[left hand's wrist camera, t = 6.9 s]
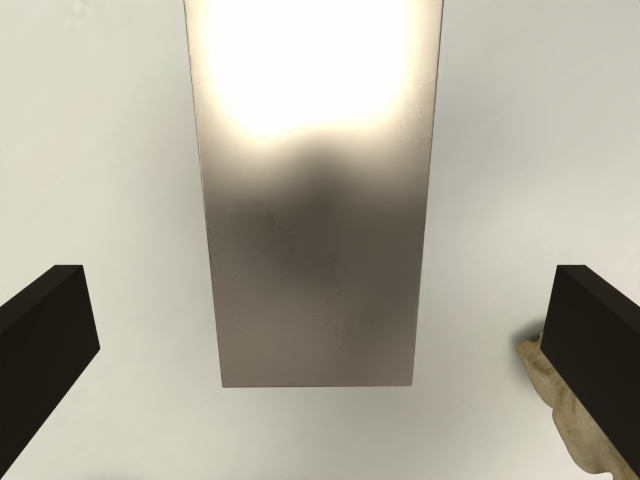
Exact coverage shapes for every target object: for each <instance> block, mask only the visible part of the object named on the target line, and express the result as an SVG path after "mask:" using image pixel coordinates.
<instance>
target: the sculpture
mask: <svg viewBox="0 0 640 480" xmlns="http://www.w3.org/2000/svg"><path fill="white" fill-rule="evenodd" d="M543 331H544V330H543ZM543 331H541V332H540V334H539V335H540V338H539V340H538V341H537V342H531V341H529V340H526V341H524V342H523V343H521V344H520V345H519V346H517V351H518V353H519V355H520V357H521V358H522V360H523V362H524V364H525V367H526V369H527V373H528V375H529V378H530V380H531V382H532V384H533V386H534V388H535V390H536V391H537V393H538V394H539V396H540V397H541V399H542V400H543V401H544V402H545V403H546V404H547V405H548V406H550V407H551V408H553V412H552V417H553V421H554V423H555V425H556V428H557V430H558V432H559V434H560V436H561V438H562V440H563V441H564V443H565V445H566V448H567V450H568V452H569V454H570V455H571V457H572V459H573V460H574V462H575V463H576V464H577V465H578V466H579V467H580V468H581V469H582V470H584V471H585V472H587V473H590V474H599V473H604V472H610V473H612V475H613V480H639V478H638V477H637V476H636V474H635V473H634V472H633V470H632V469H631V468H630V466H629V465H628V464H627V463H626V461H625V460H624V459H623V457H622V456H621V455H620V453H619V452H618V451H617V449H616V448H615V447H614V446H613V444H612V443H611V442H610V440H609V439H608V438H607V436H606V435H605V434H604V432H603V431H602V430H601V429H600V427H599V426H598V425H597V423H596V422H595V421H594V419H593V418H592V417H591V415H590V414H589V413H588V412H587V410H586V409H585V408H584V406H583V405H582V404H581V402H580V401H579V400H578V398H577V397H576V396H575V395H574V393H573V392H572V391H571V389H570V388H569V387H568V385H567V384H566V383H565V381H564V380H563V379H562V378H561V376H560V375H559V374H558V372H557V371H556V370H555V368H554V367H553V366H552V364H551V363H550V362H549V361H548V359H547V358H546V357H545V355H544V354H543V353H542V351H541V350H540V345H541V340H542V335H543Z"/></svg>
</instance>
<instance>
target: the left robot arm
mask: <svg viewBox="0 0 640 480" xmlns="http://www.w3.org/2000/svg"><path fill="white" fill-rule="evenodd" d="M99 350H100V345H99V340H98V335H97V331H96V326H95V321H94V316H93V312H92V307H91V302H90V297H89V292H88V288H87V283H86V278H85V273H84V269H83V265H54V266H53V267H52V268H50V269H49V270H48V271H46V272H45V273H44V274H43V275H41V276H40V277H39V278H37V279H36V280H35V281H33V282H32V283H31V284H30V285H28V286H27V287H26V288H24V289H23V290H22V291H20V292H19V293H18V294H16V295H15V296H14V297H13V298H11V299H10V300H9V301H7V302H6V303H5V304H3V305H2V306H1V307H0V480H1V478H2V477H3V476H4V474H5V473H6V472H7V470H8V469H9V468H10V466H11V465H12V464H13V463H14V461H15V460H16V459H17V457H18V456H19V455H20V453H21V452H22V451H23V449H24V448H25V447H26V446H27V444H28V443H29V442H30V440H31V439H32V438H33V436H34V435H35V434H36V432H37V431H38V430H39V429H40V427H41V426H42V425H43V423H44V422H45V421H46V419H47V418H48V417H49V415H50V414H51V413H52V412H53V410H54V409H55V408H56V406H57V405H58V404H59V402H60V401H61V400H62V398H63V397H64V396H65V395H66V393H67V392H68V391H69V389H70V388H71V387H72V385H73V384H74V383H75V381H76V380H77V379H78V378H79V376H80V375H81V374H82V372H83V371H84V370H85V368H86V367H87V366H88V364H89V363H90V362H91V361H92V359H93V358H94V357H95V355H96V354H97V353H98V351H99ZM540 350H541V351H542V353H543V354H544V355H545V357H546V358H547V359H548V361H549V362H550V363H551V364H552V366H553V367H554V368H555V370H556V371H557V372H558V374H559V375H560V376H561V378H562V379H563V380H564V381H565V383H566V384H567V385H568V387H569V388H570V389H571V391H572V392H573V393H574V395H575V396H576V397H577V398H578V400H579V401H580V402H581V404H582V405H583V406H584V408H585V409H586V410H587V412H588V413H589V414H590V415H591V417H592V418H593V419H594V421H595V422H596V423H597V425H598V426H599V427H600V429H601V430H602V431H603V432H604V434H605V435H606V436H607V438H608V439H609V440H610V442H611V443H612V444H613V446H614V447H615V448H616V449H617V451H618V452H619V453H620V455H621V456H622V457H623V459H624V460H625V461H626V463H627V464H628V465H629V466H630V468H631V469H632V470H633V472H634V473H635V474H636V476H637V477H638V478H639V480H640V307H639V306H638V305H637V304H635V303H634V302H633V301H631V300H630V299H629V298H627V297H626V296H625V295H624V294H622V293H621V292H620V291H618V290H617V289H616V288H614V287H613V286H612V285H610V284H609V283H608V282H607V281H605V280H604V279H603V278H601V277H600V276H599V275H597V274H596V273H595V272H594V271H592V270H591V269H590V268H588V267H587V266H586V265H557V269H556V273H555V278H554V283H553V288H552V292H551V297H550V302H549V307H548V311H547V316H546V321H545V326H544V331H543V335H542V340H541V345H540Z"/></svg>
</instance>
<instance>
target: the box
mask: <svg viewBox="0 0 640 480" xmlns="http://www.w3.org/2000/svg"><path fill="white" fill-rule="evenodd" d="M183 1H184V11H185V21H186V31H187V41H188V51H189V61H190V71H191V81H192V91H193V101H194V111H195V121H196V131H197V141H198V151H199V160H200V170H201V180H202V190H203V200H204V210H205V220H206V230H207V240H208V250H209V260H210V270H211V280H212V290H213V300H214V310H215V320H216V330H217V340H218V350H219V360H220V370H221V380H222V387H350V386H411V385H412V377H413V365H414V353H415V341H416V329H417V317H418V305H419V293H420V281H421V269H422V257H423V245H424V233H425V221H426V209H427V197H428V185H429V173H430V161H431V149H432V137H433V125H434V113H435V101H436V89H437V77H438V65H439V53H440V41H441V29H442V17H443V5H444V0H183Z"/></svg>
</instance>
